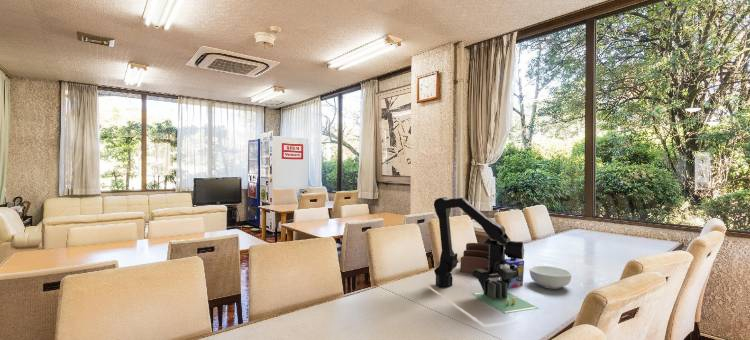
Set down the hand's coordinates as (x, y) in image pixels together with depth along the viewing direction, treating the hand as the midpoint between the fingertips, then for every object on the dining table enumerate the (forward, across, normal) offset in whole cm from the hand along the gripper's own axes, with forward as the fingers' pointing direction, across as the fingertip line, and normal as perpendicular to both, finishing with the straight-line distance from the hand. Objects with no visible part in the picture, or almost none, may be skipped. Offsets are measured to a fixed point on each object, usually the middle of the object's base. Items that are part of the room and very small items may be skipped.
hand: (495, 293), depth 142 cm
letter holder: (+2, +16, +30) cm, 34 cm away
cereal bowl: (+2, +34, +5) cm, 34 cm away
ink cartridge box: (+2, +16, +9) cm, 18 cm away
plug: (+1, 0, 0) cm, 1 cm away
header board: (+2, 0, -5) cm, 5 cm away
